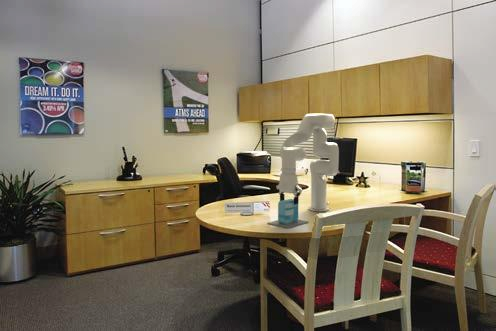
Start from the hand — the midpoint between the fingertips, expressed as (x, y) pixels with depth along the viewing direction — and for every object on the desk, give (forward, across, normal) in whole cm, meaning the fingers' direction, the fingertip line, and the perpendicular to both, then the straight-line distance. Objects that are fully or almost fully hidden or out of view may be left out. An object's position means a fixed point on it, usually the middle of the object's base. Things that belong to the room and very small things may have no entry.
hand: (289, 202), depth 214 cm
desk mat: (+11, 0, -1) cm, 11 cm away
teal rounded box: (+11, 0, -1) cm, 11 cm away
